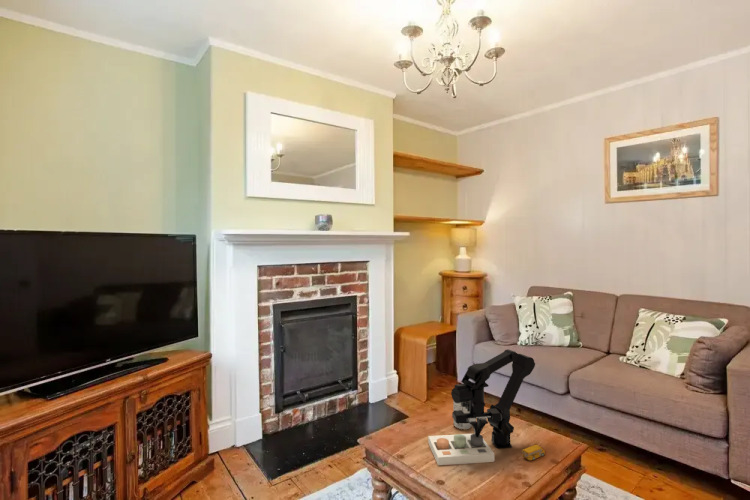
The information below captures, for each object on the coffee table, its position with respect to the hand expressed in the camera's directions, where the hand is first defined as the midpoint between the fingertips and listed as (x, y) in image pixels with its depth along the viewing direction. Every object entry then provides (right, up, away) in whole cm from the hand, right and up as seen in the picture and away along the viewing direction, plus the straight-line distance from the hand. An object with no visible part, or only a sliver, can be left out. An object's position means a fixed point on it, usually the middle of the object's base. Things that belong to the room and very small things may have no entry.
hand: (477, 436), depth 155 cm
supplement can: (-1, -6, +21) cm, 22 cm away
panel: (-7, -6, -1) cm, 9 cm away
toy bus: (+21, -6, -4) cm, 22 cm away
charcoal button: (0, -3, 0) cm, 3 cm away
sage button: (-7, -3, -1) cm, 8 cm away
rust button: (-14, -4, -1) cm, 15 cm away
